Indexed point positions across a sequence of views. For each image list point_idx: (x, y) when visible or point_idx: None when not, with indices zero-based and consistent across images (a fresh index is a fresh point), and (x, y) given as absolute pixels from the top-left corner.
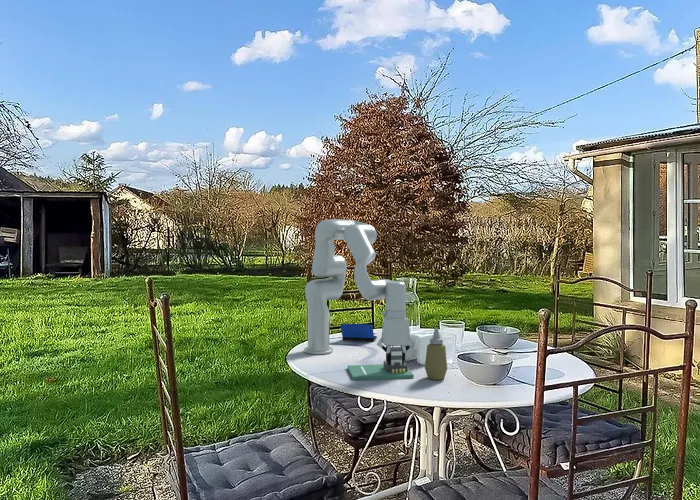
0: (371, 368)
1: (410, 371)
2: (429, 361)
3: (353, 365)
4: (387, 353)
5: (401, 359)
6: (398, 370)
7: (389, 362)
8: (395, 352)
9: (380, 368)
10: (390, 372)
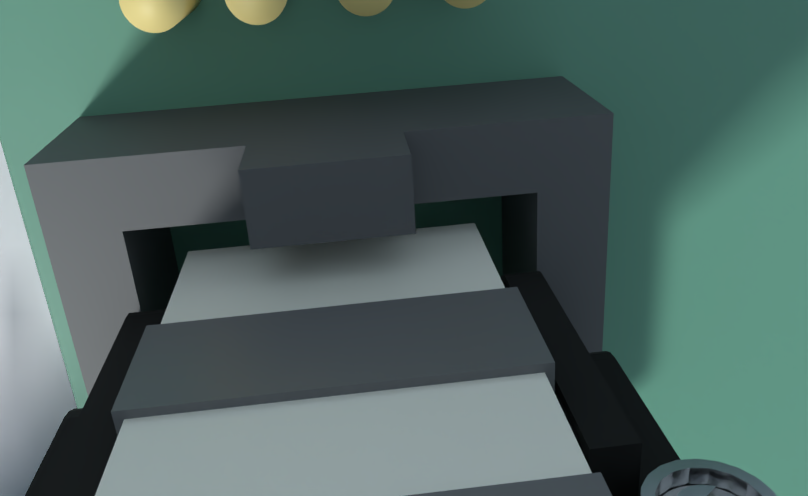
0: (801, 376)
1: (4, 149)
2: None
3: None
4: (705, 462)
5: (176, 323)
6: (300, 109)
7: (539, 288)
8: (401, 465)
9: (632, 379)
10: (493, 75)
